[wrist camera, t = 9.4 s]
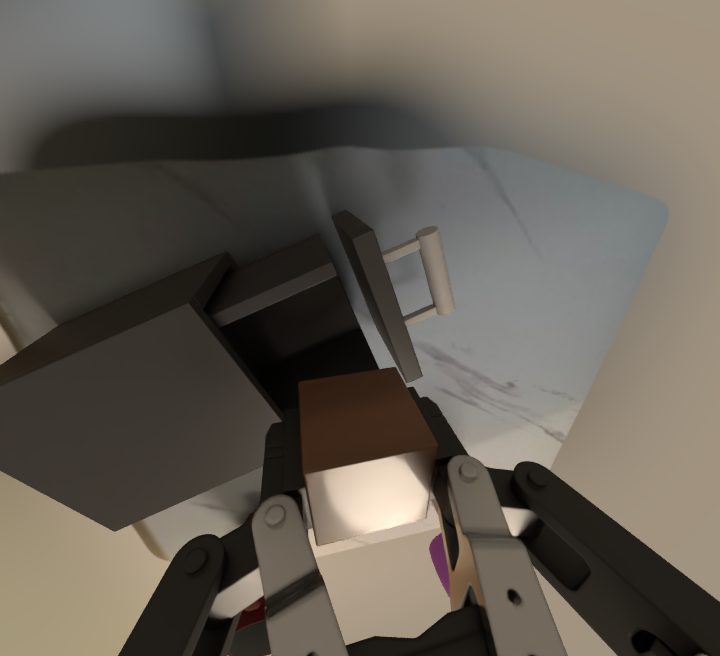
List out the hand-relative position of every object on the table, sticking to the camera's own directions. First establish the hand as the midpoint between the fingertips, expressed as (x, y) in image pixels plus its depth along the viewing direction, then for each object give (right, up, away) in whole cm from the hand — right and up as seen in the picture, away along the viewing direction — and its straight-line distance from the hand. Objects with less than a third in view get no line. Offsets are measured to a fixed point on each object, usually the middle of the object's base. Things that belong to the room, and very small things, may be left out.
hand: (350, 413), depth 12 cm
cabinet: (-14, +2, +12) cm, 18 cm away
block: (0, 0, 0) cm, 0 cm away
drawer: (-3, +6, +11) cm, 13 cm away
